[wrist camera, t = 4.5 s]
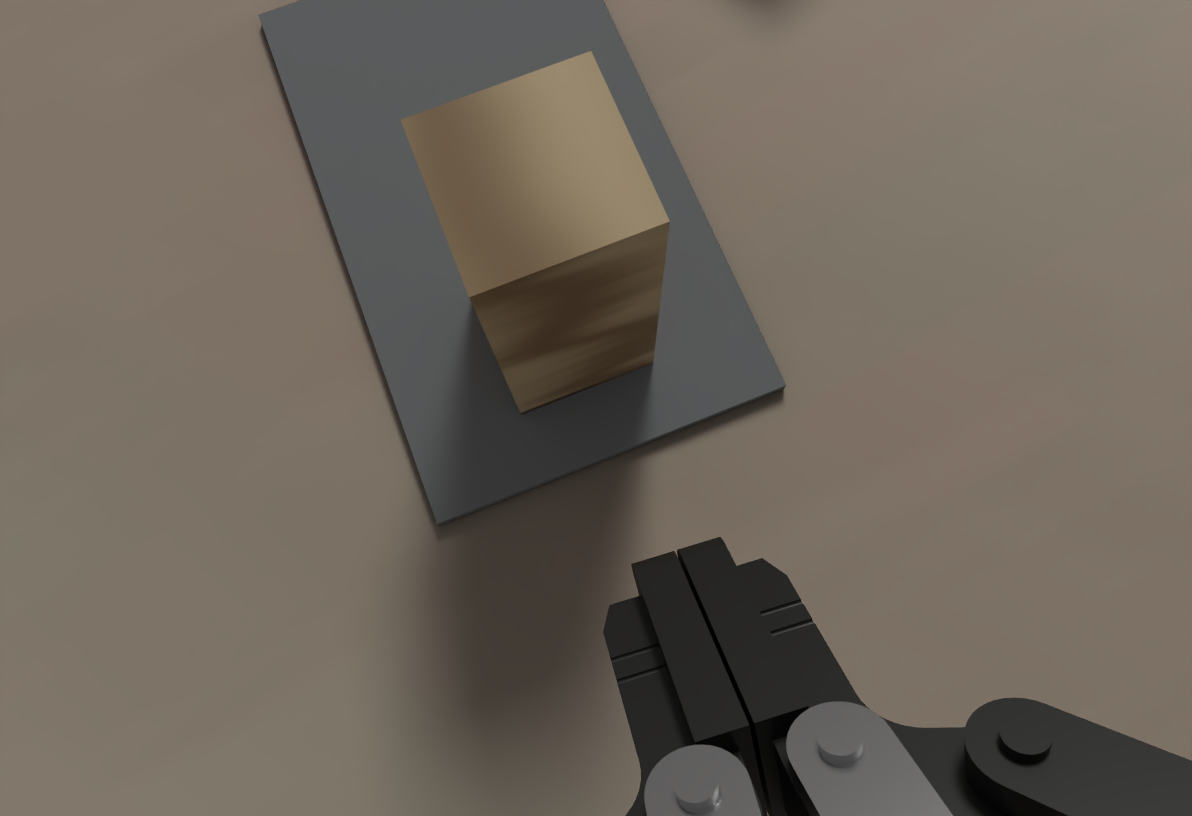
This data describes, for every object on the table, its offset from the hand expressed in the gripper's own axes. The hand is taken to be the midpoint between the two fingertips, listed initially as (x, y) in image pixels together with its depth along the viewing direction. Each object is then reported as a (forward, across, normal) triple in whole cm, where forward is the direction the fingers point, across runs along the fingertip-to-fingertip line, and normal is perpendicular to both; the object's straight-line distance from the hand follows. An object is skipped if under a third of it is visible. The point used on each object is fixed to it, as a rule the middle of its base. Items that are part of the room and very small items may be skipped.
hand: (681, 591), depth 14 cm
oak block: (+18, 0, +3) cm, 19 cm away
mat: (+23, 0, -1) cm, 23 cm away
